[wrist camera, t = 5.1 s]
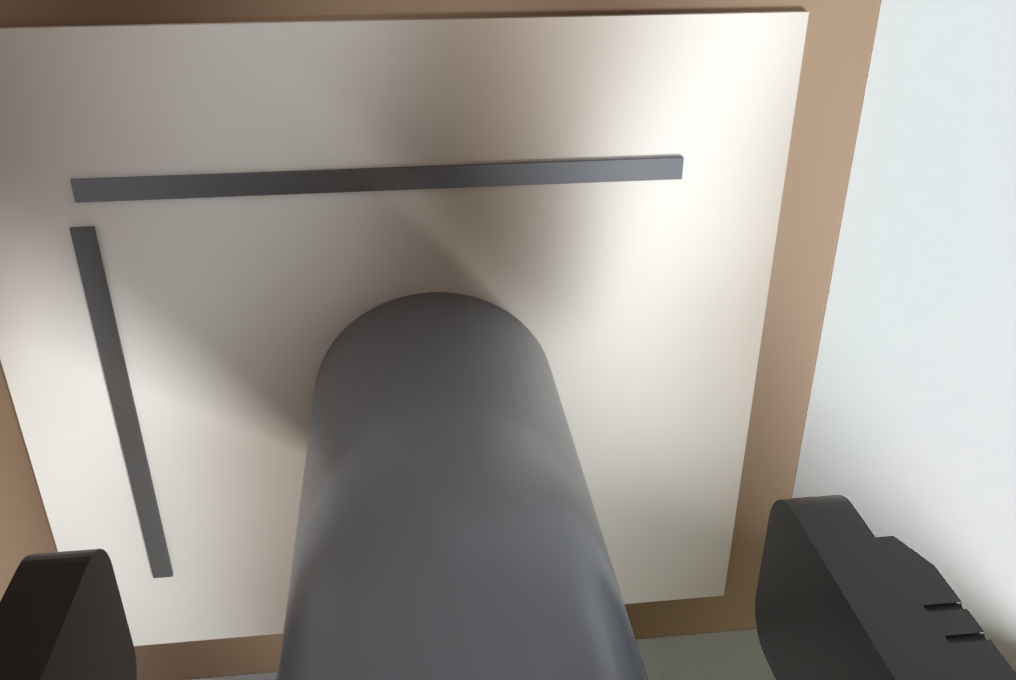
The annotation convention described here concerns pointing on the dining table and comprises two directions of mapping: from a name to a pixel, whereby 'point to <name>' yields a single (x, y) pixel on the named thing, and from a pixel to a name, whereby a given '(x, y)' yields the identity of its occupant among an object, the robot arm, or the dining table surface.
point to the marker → (447, 511)
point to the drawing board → (408, 269)
